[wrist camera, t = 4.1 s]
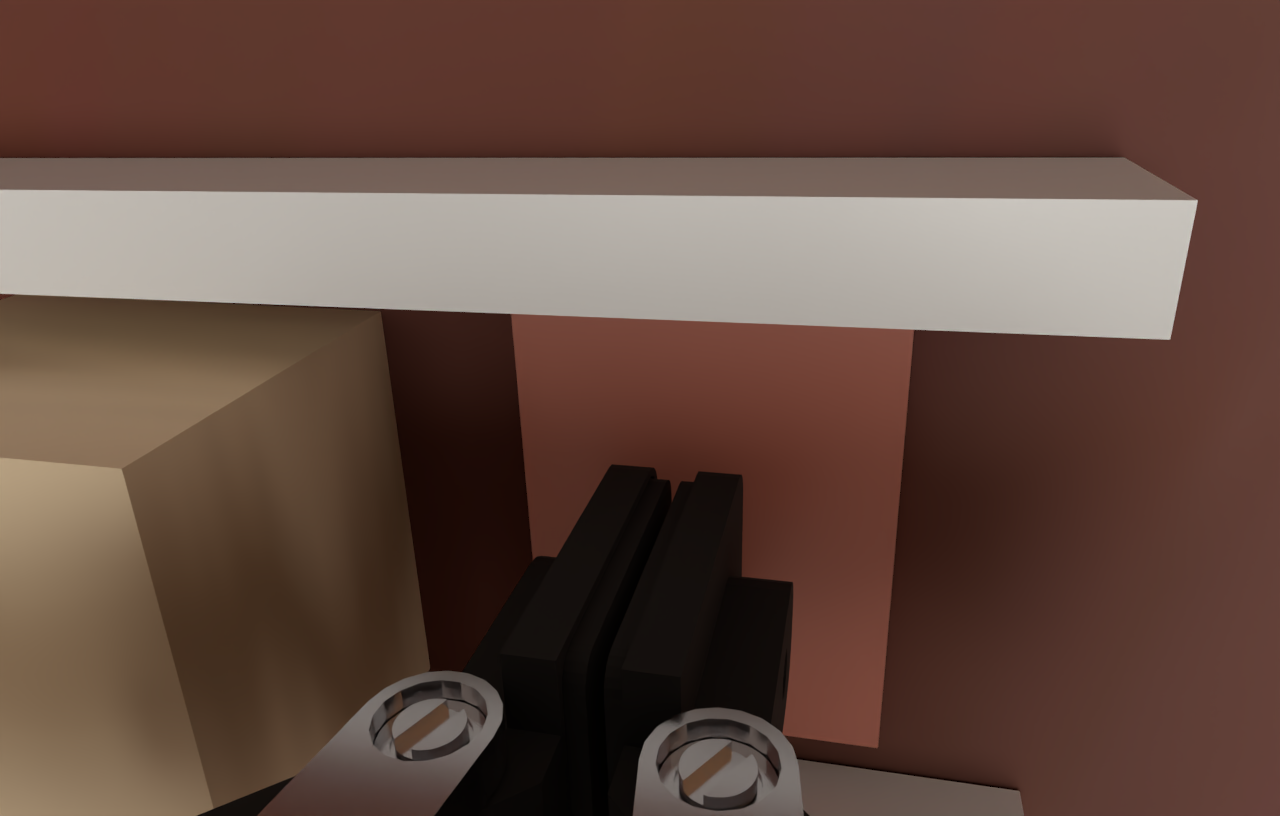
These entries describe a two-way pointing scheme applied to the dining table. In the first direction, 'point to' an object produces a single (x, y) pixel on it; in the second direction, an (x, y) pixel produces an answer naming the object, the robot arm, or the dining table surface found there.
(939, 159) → the channel
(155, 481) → the maple block
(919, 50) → the dining table surface
